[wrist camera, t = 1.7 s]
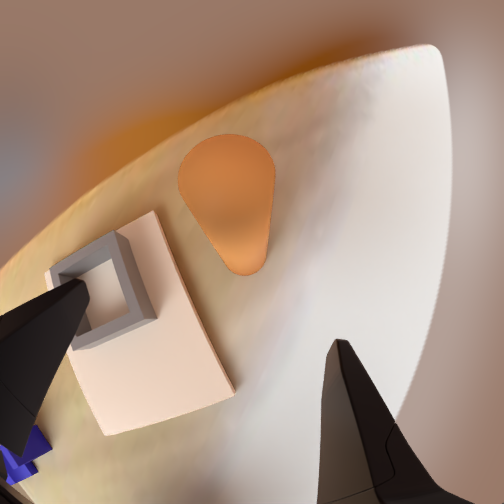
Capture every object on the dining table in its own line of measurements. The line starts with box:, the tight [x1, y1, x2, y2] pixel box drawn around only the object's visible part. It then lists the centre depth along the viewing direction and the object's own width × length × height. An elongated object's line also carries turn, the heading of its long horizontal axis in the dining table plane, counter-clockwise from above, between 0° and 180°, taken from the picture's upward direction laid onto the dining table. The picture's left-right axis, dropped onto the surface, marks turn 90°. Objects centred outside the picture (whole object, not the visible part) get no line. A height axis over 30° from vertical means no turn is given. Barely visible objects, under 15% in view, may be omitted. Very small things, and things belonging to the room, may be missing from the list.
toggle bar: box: [178, 134, 275, 276], centre depth 15 cm, size 3×3×12 cm
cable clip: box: [0, 425, 52, 485], centre depth 14 cm, size 12×4×6 cm, turn 128°
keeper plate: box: [44, 211, 236, 436], centre depth 18 cm, size 15×12×4 cm
